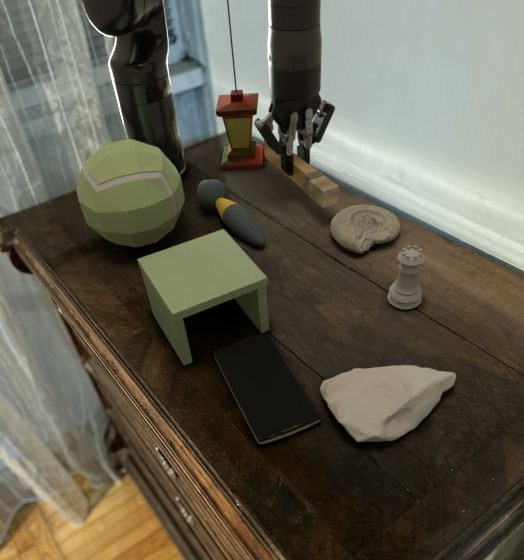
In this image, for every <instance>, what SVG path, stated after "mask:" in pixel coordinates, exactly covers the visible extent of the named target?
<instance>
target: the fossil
mask: <svg viewBox="0 0 524 560" xmlns="http://www.w3.org/2000/svg"><path fill="white" fill-rule="evenodd" d="M400 231H401V222H400V220H399V218H398V217H397V216H396V214H395V213H394V212H392V211H391V210H388V209H386V208H384V207H381V206H377V205H372V204H354V205H351V206H348V207H345V208H343V209H341V210H340V211H338V212H337V213H336V214H335V215H334V216H333V218H332V219H331V222H330V233H331V236H332V238H333V239H334V240H335V241H336V242H337V244H339V245H340V246H341V247H342V248H344V249H346V250H348V251H350V252H353V253H356V254H363V253H365V252H366V251H367V252H368V251H369V250H370V248H371V247H373V246H374V245H375V244H376V245H380V244H386V243H389V242H391V241H393V240H395V239H396V238H397V237H398V235H400Z"/></svg>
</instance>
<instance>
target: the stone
mask: <svg viewBox="0 0 524 560" xmlns="http://www.w3.org/2000/svg"><path fill="white" fill-rule="evenodd" d="M456 379H457V375H456V373H455V372H453V371H441V370H437V369H435V368H434V369H433V368H430V367H420V366H418V365H414V364H412V365H411V364H403V365H401V364H400V365H387V366H375V367H369V368H362V367H353V368H352V369H351V370H349V371H345V372H341V373H339V374H337V375H335V376H333V377H330V378H327V379H324V380H323V381H322V383H321V385H320V388H319V391H320V394H321V396H322V399H323V400H324V401H325V402H326V403H327V408H328V409H329V410H330V412H331V413H332V414H333V416H334V418H335V419H336V420H337V422H339V424H341V425H342V426H343V427H344V429H345V430H346V432H347V433H348V434H349V436H351V437H352V439H354V440H355V441H356V442H357V443H361V442H362V443H363V442H364V443H365V442H371V443H372V442H373V443H374V442H375V443H378V442H393V441H395V440H397V439H399V438H401V437H403V436H404V435H406V434H407V433H409V432H411V431H412V430H415V429H416V428H417V427H418V426H419V424H420V423H421V422H422V421H423V420H424V419H425V418H426V417H427V416H429V414H430V413H431V412H432V411H433V409H434V408H435V407H436V406H437V404H438V403H439V402H440V401H441V397H442V395H443V393H444V392H446V391H448V390H450V389H451V388H452V387H453V386H454V384H455V383H456Z"/></svg>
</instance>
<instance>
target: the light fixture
mask: <svg viewBox="0 0 524 560" xmlns="http://www.w3.org/2000/svg"><path fill="white" fill-rule="evenodd" d="M229 1H230V0H226V6H227V7H226V8H227V17H228V26H229V27H228V28H229V29H228V30H229V39H230V49H231V58H232V59H231V60H232V67H233V69H232V71H233V79H234V89H231V90H230V94H219V95H218V97H217V98H218V99H217V103H216V107H215V115H216V117H219V118H221V119H222V121H223V126H224V129H225V132H226V136H227V140H228V145H226V146H223V151H222V156H221V162H220V170H241V169H242V170H243V169H262V168H263V163H264V144H257V141H255V140H252V139H253V125H254V116H256V115H257V114H258V107H259V106H258V105H259V92H251V93H244V89H238V88H237V87H238V86H237V76H236V65H235V57H234V56H235V55H234V46H233V45H234V44H233V35H232V24H231V23H232V22H231V13H230V3H229Z"/></svg>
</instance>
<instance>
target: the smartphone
mask: <svg viewBox="0 0 524 560" xmlns="http://www.w3.org/2000/svg"><path fill="white" fill-rule="evenodd" d="M213 356H214V359H215V361H216V363H217V365H218V366H219V370H220V372H221V373H222V375H223V377H224V379H225V381H226V383H227V385H228V387H229V389H230V391H231V393H232V395H233V398H234V399H235V401H236V403H237V405H238V407H239V410H240V411H241V413H242V415H243V416H244V420H245V421H246V423H247V424H248V426H249V428H250V430H251V433H252V434H253V436H254V438H255V440H256V442H257V443H258V444H259V445H265V444H268V443H271V442H275V441H277V440H280V439H283V438H286V437H289V436H291V435H294V434H296V433H299V432H301V431H303V430H306V429H308V428H310V427H311V426H314V425H317V424H318V423H319V422H320V421H321V419H322V418H321V414H320V413H319V412H318V410H317V409H316V407H315V406H314V404H313V402H312V400H311V399H310V397H309V396H308V394H307V392H306V391H305V389H304V388H303V387H302V385H301V383H300V382H299V380H298V379H297V377H296V375H295V374H294V372H293V370H292V368H291V367H290V366H289V364H288V363H287V361H286V360H285V358H284V357H283V355H282V353H281V351H280V350H279V348H278V347H277V345H276V343H275V342H274V340H273V339H272V337H271V335H270V334H269V333H266V332H265V333H264V334H263V333H262V334H259V335H256V336H253V337H250V338H247V339H245V340H244V339H243V340H240V341H239V342H235V343H232V344H229V345H227V346H224V347H221V348H220V349H217V350H214V351H213Z"/></svg>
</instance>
